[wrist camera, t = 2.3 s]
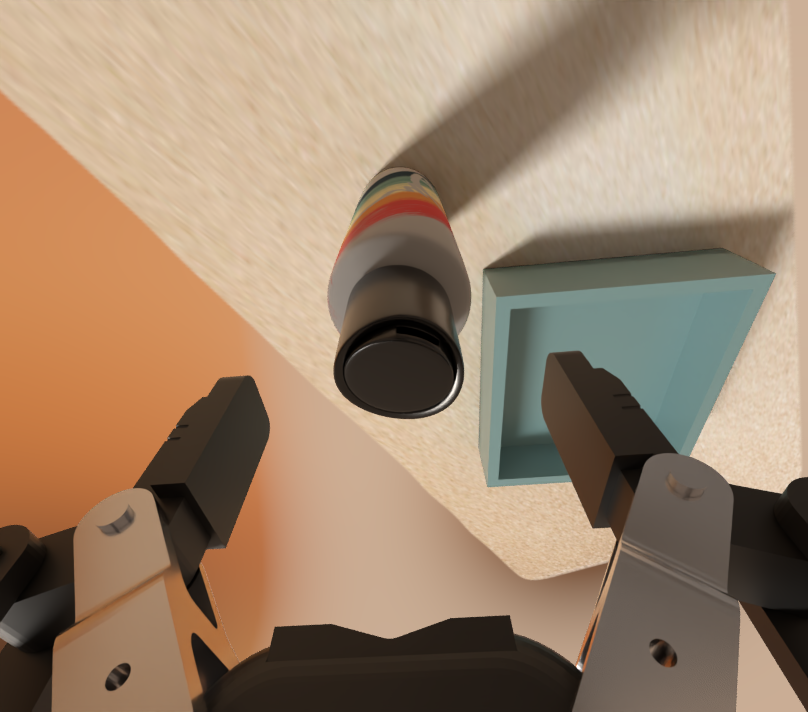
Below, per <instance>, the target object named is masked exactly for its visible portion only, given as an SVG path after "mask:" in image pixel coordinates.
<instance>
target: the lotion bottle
mask: <svg viewBox="0 0 808 712" xmlns="http://www.w3.org/2000/svg"><path fill="white" fill-rule="evenodd" d="M470 306H471V287H470V282H469V278H468V274H467V271H466V268H465V265H464V262H463V259H462V257H461V254H460V251H459V249H458V246H457V243H456V241H455V238H454V235H453V233H452V230H451V227H450V225H449V222H448V219H447V217H446V214H445V211H444V209H443V206H442V203H441V201H440V198H439V196H438V193H437V191H436V190H435V188H434V186H433V185H432V183H431V182H430V181H429V180H428V179H427V178H426V177H425V176H424V175H422V174H421V173H419V172H417V171H415V170H413V169H409V168H404V167H396V168H390V169H387V170H385V171H382V172H381V173H379V174H377V175H376V176H375V177H374V178H373V179H372V180H371V181H370V182H369V183H368V184H367V186H366V188H365V189H364V191H363V193H362V195H361V197H360V200H359V202H358V205H357V208H356V210H355V213H354V215H353V218H352V220H351V223H350V226H349V228H348V231H347V233H346V236H345V238H344V241H343V243H342V246H341V249H340V251H339V254H338V256H337V259H336V262H335V264H334V267H333V270H332V273H331V276H330V280H329V285H328V308H329V312H330V316H331V319H332V321H333V323H334V325H335V327H336V329H337V331H338V332H339V333H340V338H339V343H338V347H337V352H336V356H335V361H334V379H335V383H336V385H337V387H338V389H339V391H340V392H341V393H342V395H343V396H344V397H345V398H346V399H348V400H349V401H350V402H351V403H353V404H354V405H356V406H358V407H360V408H362V409H364V410H366V411H368V412H371V413H374V414H377V415H381V416H385V417H390V418H398V419H417V418H424V417H428V416H432V415H435V414H437V413H439V412H441V411H443V410H444V409H446V408H447V407H448V406H450V405H451V404H452V403H453V402H454V400H455V399H456V398H457V396H458V394H459V393H460V390H461V388H462V384H463V380H464V364H463V357H462V353H461V348H460V344H459V339H458V335H459V333H460V332H461V330H462V329H463V327H464V325H465V323H466V321H467V318H468V315H469V311H470Z"/></svg>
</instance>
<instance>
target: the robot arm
mask: <svg viewBox="0 0 808 712" xmlns="http://www.w3.org/2000/svg"><path fill="white" fill-rule="evenodd" d="M640 406H641V405H640V404H639V403H638V401H637V400H636V399H635V398H634V396H631V393H630V391H629V390H628V389H627V387H626V386H625V385H624V384H623V382H622V381H621V380H620V379H619V378H617V377H616V376H614V375H613V374H611V373H610V372H608V371H607V370H605V369H604V368H593V367H592V366H591V364H590V363H589V361H588V360H587V359H586V357H585V356H584V354H583V353H582V352H581V351H579V350H578V351H566V352H553V353H549V354H548V356H547V359H546V366H545V374H544V381H543V388H542V395H541V408H542V414H543V418H544V421H545V423H546V425H547V427H548V430H549V432H550V434H551V436H552V439H553V441H554V443H555V445H556V448H557V450H558V452H559V454H560V457H561V459H562V461H563V463H564V465H565V468H566V470H567V472H568V474H569V477H570V479H571V481H572V483H573V486H574V488H575V490H576V492H577V494H578V497H579V499H580V501H581V503H582V506H583V508H584V510H585V512H586V515H587V517H588V519H589V521H590V524H591V526H592V528H609V527H611V529H612V531H613V533H614V535H615V537H616V542H615V544H614V547H613V550H612V554H611V557H610V560H609V563H608V566H607V570H606V573H605V576H604V579H603V582H602V585H601V589H600V592H599V595H598V598H597V602H596V605H595V608H594V611H593V614H592V617H591V620H590V623H589V626H588V629H587V632H586V635H585V638H584V641H583V644H582V647H581V650H580V653H579V656H578V659H577V662H576V665H575V666H574V665H573V664H572V663H571V662H570V661H568V660H567V659H565V658H564V657H563V656H561V655H560V654H558V653H557V652H555V651H554V650H552V649H550V648H548V647H546V646H545V645H543V644H541V643H539V642H537V641H534V640H532V639H529V638H527V637H524V636H520V635H517V634H514V633H513V628H512V624H511V619H510V615H507V616H487V617H467V618H450V619H447V620H445V621H442V622H439V623H436V624H434V625H431V626H428V627H425V628H422V629H419V630H417V631H414V632H411V633H408V634H406V635H403V636H400V637H397V638H394V639H386V638H381V637H377V636H374V635H370V634H366V633H362V632H359V631H355V630H351V629H348V628H344V627H340V626H337V625H333V624H323V625H303V626H284V627H275V629H274V633H273V637H272V641H271V645H270V647H268V648H265V649H263V650H261V651H259V652H257V653H255V654H253V655H251V656H249V657H248V658H246V659H245V660H243V661H242V662H239V660H238V658H237V656H236V654H235V652H234V650H233V649H232V647H231V645H230V643H229V641H228V638H227V636H226V633H225V630H224V627H223V624H222V621H221V618H220V615H219V612H218V609H217V606H216V603H215V600H214V597H213V593H212V590H211V587H210V584H209V581H208V578H207V575H206V572H205V569H204V567H203V565H202V564H201V560H202V558H203V555H204V553H205V550H206V549H221V548H226V546H227V543H228V541H229V538H230V535H231V533H232V531H233V528H234V525H235V523H236V520H237V518H238V515H239V513H240V510H241V508H242V505H243V502H244V500H245V497H246V495H247V492H248V489H249V487H250V484H251V482H252V479H253V477H254V474H255V471H256V469H257V466H258V464H259V461H260V459H261V456H262V454H263V451H264V449H265V446H266V443H267V441H268V438H269V431H270V423H269V418H268V415H267V412H266V410H265V407H264V404H263V402H262V399H261V397H260V394H259V391H258V389H257V386H256V384H255V381H254V379H253V378H252V377H251V376H236V377H223V378H220V379H219V380H218V381H217V383H216V384H215V386H214V387H213V389H212V390H211V392H210V393H209V395H208V396H207V397H202V398H201V399H200V400H199V401H198V402H196V403H195V404H194V405H193V406H191V407H190V408H189V409H188V410H187V411H186V412H185V413H184V415H183V416H182V418H181V419H180V421H179V422H178V423H177V425H176V429H173V431H172V432H171V434H170V435H169V436H168V441H165V442H164V444H163V445H162V447H161V448H160V449H159V451H158V452H157V454H156V455H155V457H154V458H153V460H152V461H151V463H150V464H149V466H148V467H147V468H146V470H145V471H144V473H143V474H142V476H141V477H140V479H139V480H138V482H137V483H136V484H135V486H134V487H133V489H128V490H124V491H121V492H118V493H116V494H114V495H112V496H110V497H108V498H106V499H105V500H103V501H102V502H100V503H99V504H97V505H96V506H95V507H94V508H92V509H91V510H90V511H89V512H88V513H87V514H86V515H85V516H84V518H83V519H82V520H81V521H80V523H79V525H78V526H76V527H72V528H69V529H66V530H63V531H60V532H57V533H54V534H51V535H48V536H45V537H42V538H39V539H38V538H37V537H36V536H35V535H34V534H33V533H32V532H30V531H29V530H28V529H27V528H26V527H24V526H20V525H11V526H6V527H2V528H0V638H1V639H3V640H4V641H6V642H7V644H6V645H5V647H4V648H3V650H2V651H1V653H0V712H736V698H737V696H736V695H737V676H738V655H739V634H740V607H739V603H738V601H739V602H740V604H741V605H742V607H743V608H744V610H745V612H746V613H747V615H748V616H749V618H750V620H751V621H752V623H753V625H754V626H755V628H756V630H757V631H758V633H759V634H760V636H761V638H762V639H763V641H764V643H765V644H766V646H767V647H768V649H769V651H770V652H771V654H772V656H773V657H774V659H775V661H776V662H777V664H778V665H779V667H780V668H781V670H782V672H783V674H784V675H785V677H786V678H787V680H788V682H789V683H790V685H791V687H792V688H793V690H794V691H795V693H796V695H797V696H798V698H799V700H800V701H801V703H802V704H803V706H804V708H805V709H806V711H807V712H808V477H804V478H799V479H796V480H794V481H792V482H791V483H790V484H789V485H788V487H787V488H786V489H785V491H784V492H783V494H780V493H774V492H769V491H763V490H758V489H752V488H747V487H742V486H736V485H732V484H728V482H727V481H726V480H725V479H724V478H723V477H722V476H721V475H720V474H719V473H718V472H717V471H716V470H714V469H713V468H712V467H710V466H708V465H707V464H705V463H703V462H701V461H699V460H697V459H694V458H692V457H688V456H685V455H681V454H678V452H677V451H676V450H675V449H674V447H673V446H672V445H671V444H670V442H669V441H668V440H667V438H666V437H665V436H664V435H663V433H662V432H661V431H660V429H659V428H658V427H657V426H656V424H655V423H654V422H653V421H652V419H651V418H650V417H649V415H648V414H647V413H646V412H645V410H644V409H643V408H642V409H641V407H640Z"/></svg>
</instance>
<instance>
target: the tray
mask: <svg viewBox="0 0 808 712" xmlns="http://www.w3.org/2000/svg"><path fill="white" fill-rule="evenodd" d="M775 275H776V273H774V272H772V271H770V270H768V269H765V268H763V267H761V266H759V265H757V264H755V263H753V262H751V261H749V260H747V259H744V258H742V257H740V256H738V255H736V254H734V253H732V252H730V251H728V250H726V249H724V248H719V249H708V250H697V251H685V252H674V253H662V254H651V255H639V256H628V257H617V258H605V259H594V260H582V261H571V262H560V263H548V264H537V265H525V266H514V267H502V268H491V269H483V297H482V335H481V373H480V411H479V452H480V457H481V461H482V466H483V470H484V475H485V479H486V484H487V487H499V486H515V485H531V484H547V483H563V482H572V481H571V479H570V477H569V474H568V472H567V470H566V468H565V465H564V463H563V461H562V459H561V457H560V454H559V452H558V450H557V448H556V445H555V443H554V441H553V439H552V436H551V434H550V432H549V430H548V427H547V425H546V423H545V421H544V418H543V414H542V408H541V395H542V388H543V381H544V374H545V366H546V359H547V356H548V354H549V353H553V352H566V351H578V350H579V351H581V352H582V353H583V354H584V356H585V357H586V359H587V360H588V361H589V363H590V364H591V366H592V367H593V368H604V369H605V370H607V371H608V372H610V373H611V374H613V375H614V376H616V377H617V378H619V379H620V380H621V381H622V382H623V384H624V385H625V386H626V387H627V389H628V390H629V391H630V393H631V396H634V398H635V399H636V400H637V401H638V403H639V404H640V405H641V406H640V407H641V409H642V408H643V409H644V410H645V412H646V413H647V414H648V415H649V417H650V418H651V419H652V421H653V422H654V423H655V424H656V426H657V427H658V428H659V429H660V431H661V432H662V433H663V435H664V436H665V437H666V438H667V440H668V441H669V442H670V444H671V445H672V446H673V447H674V449H675V450H676V451H677V452H678V454H681V455H685V456H688V457H689V456H690V454H691V452H692V450H693V448H694V446H695V444H696V441H697V439H698V437H699V435H700V433H701V431H702V429H703V427H704V425H705V422H706V420H707V418H708V416H709V414H710V412H711V410H712V408H713V406H714V403H715V401H716V399H717V397H718V395H719V393H720V391H721V389H722V387H723V385H724V382H725V380H726V378H727V376H728V374H729V372H730V370H731V368H732V366H733V363H734V361H735V359H736V357H737V355H738V353H739V351H740V349H741V347H742V345H743V342H744V340H745V338H746V336H747V334H748V332H749V330H750V328H751V326H752V323H753V321H754V319H755V317H756V315H757V313H758V311H759V309H760V307H761V305H762V302H763V300H764V298H765V296H766V294H767V292H768V290H769V288H770V286H771V283H772V281H773V279H774V277H775Z"/></svg>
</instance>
